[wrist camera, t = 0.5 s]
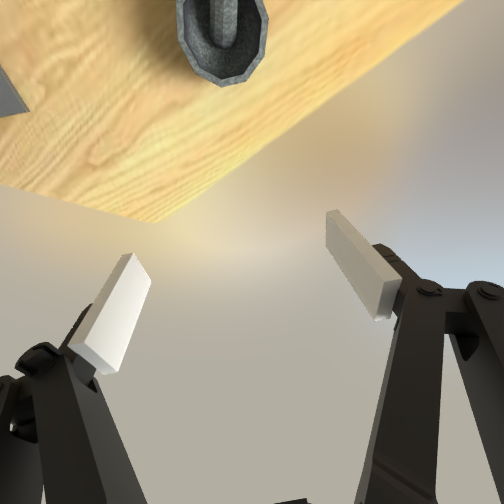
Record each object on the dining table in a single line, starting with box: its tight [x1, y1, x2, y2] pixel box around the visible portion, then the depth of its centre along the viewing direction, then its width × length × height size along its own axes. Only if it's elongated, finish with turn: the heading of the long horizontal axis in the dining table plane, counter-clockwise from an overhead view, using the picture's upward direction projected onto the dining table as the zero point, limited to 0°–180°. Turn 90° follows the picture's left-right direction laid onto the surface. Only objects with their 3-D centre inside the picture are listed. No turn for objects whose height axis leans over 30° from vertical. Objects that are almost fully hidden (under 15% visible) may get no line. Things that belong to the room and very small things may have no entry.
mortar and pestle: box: [176, 0, 269, 87], centre depth 24 cm, size 11×9×12 cm
